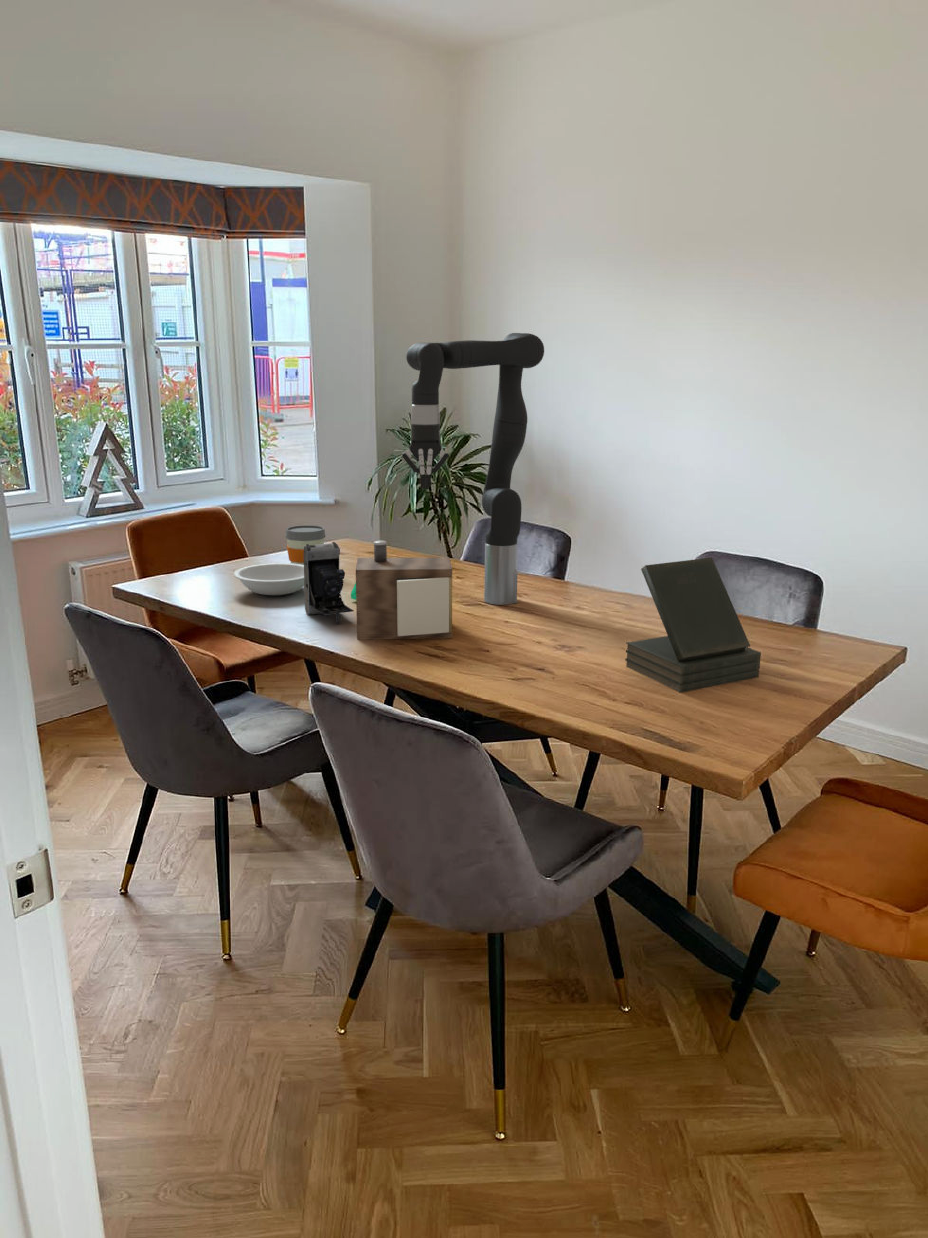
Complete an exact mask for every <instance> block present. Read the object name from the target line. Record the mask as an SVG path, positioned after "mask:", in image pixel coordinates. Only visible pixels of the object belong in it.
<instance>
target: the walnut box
mask: <svg viewBox="0 0 928 1238" xmlns="http://www.w3.org/2000/svg"><path fill="white" fill-rule="evenodd" d="M356 561H357V562H356V565H355V583H356V600H355V601H356V606H355V607H356V639H357V640H404V639H406V640H407V639H411V640H413V639H415V640H416V639H417V640H418V639H422V640H423V639H453V631H452V632H447V633H434V634H421V635H408V636H398V632H397V580H411V579H428V578H444V577H452V578H453V566H452V562H451V559H450V556H442V557H441V556H439V557H438V556H435V557H434V556H430V557H429V556H427V557H426V556H425V557H423V556H421V557H419V556H418V557H410V556H409V557H407V556H406V557H387V561H386V562H375V561H374V557H357V560H356Z"/></svg>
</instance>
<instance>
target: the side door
mask: <svg viewBox="0 0 928 1238" xmlns="http://www.w3.org/2000/svg"><path fill="white" fill-rule="evenodd" d="M397 632H398V636H408V635H421V634H434V633H447V632H452V633H453V576H452V577H444V578H428V579H411V580H397Z"/></svg>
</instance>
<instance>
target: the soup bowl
mask: <svg viewBox="0 0 928 1238" xmlns="http://www.w3.org/2000/svg"><path fill="white" fill-rule="evenodd" d="M233 577H234V578H235V579H238V580H240V582H241V583H242V585H243V586H244V587H245V588H247V589H248V590H249V591H251V592H253V593H255V594H259V595H264V596H283V595H288V594H292V593H295V592H297V591H300V590H302V588H304V565H301V564H292V563H291V562H290V563H287V562H286V563H285V562H273V563H272V562H271V563H261V564H254V565H248V566H244V567H241V568H238V569H237V570H235V571H234V572H233Z"/></svg>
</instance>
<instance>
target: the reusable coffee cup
mask: <svg viewBox="0 0 928 1238" xmlns="http://www.w3.org/2000/svg"><path fill="white" fill-rule="evenodd" d="M325 538H326V532H325V527H324V526H320V525H311V524H310V525H307V524H303V525H302V524H300V525H293V526H289V527H288V526H287V527H286V529H285V539H286V542H287V545H286V548H287V549H286V550H287V555H288V561H289V562H290V563H292V564H301V565H304V546H306V544H308V545H319V544H325Z"/></svg>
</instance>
